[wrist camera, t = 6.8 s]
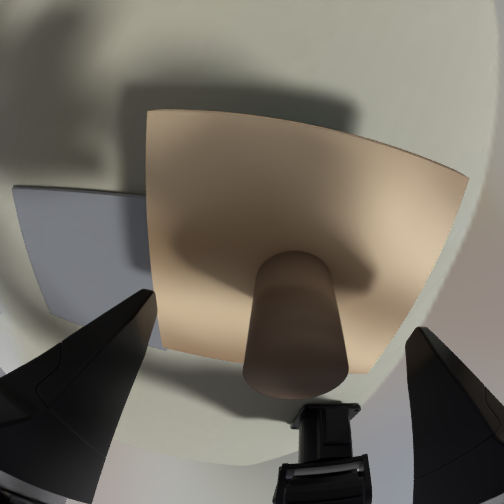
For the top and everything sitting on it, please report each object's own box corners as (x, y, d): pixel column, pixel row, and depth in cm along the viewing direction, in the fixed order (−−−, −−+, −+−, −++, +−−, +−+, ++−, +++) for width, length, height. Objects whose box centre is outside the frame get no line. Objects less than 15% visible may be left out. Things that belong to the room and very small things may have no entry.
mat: (167, 347, 21) (166, 350, 21) (52, 310, 21) (50, 313, 21) (153, 196, 14) (150, 199, 14) (15, 186, 14) (11, 188, 14)
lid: (364, 359, 14) (377, 438, 9) (168, 333, 14) (137, 412, 10) (455, 170, 8) (542, 231, 4) (160, 109, 8) (59, 131, 4)
